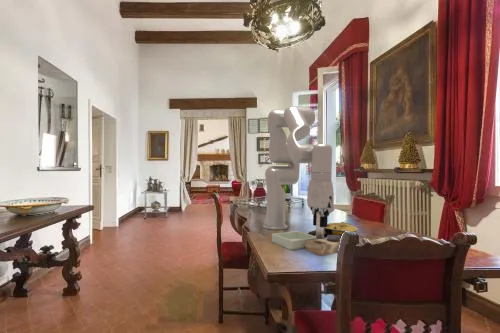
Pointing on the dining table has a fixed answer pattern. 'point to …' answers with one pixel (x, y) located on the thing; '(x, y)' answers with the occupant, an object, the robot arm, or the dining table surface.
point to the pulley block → (336, 229)
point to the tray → (292, 239)
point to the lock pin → (319, 229)
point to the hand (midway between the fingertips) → (320, 225)
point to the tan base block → (324, 245)
